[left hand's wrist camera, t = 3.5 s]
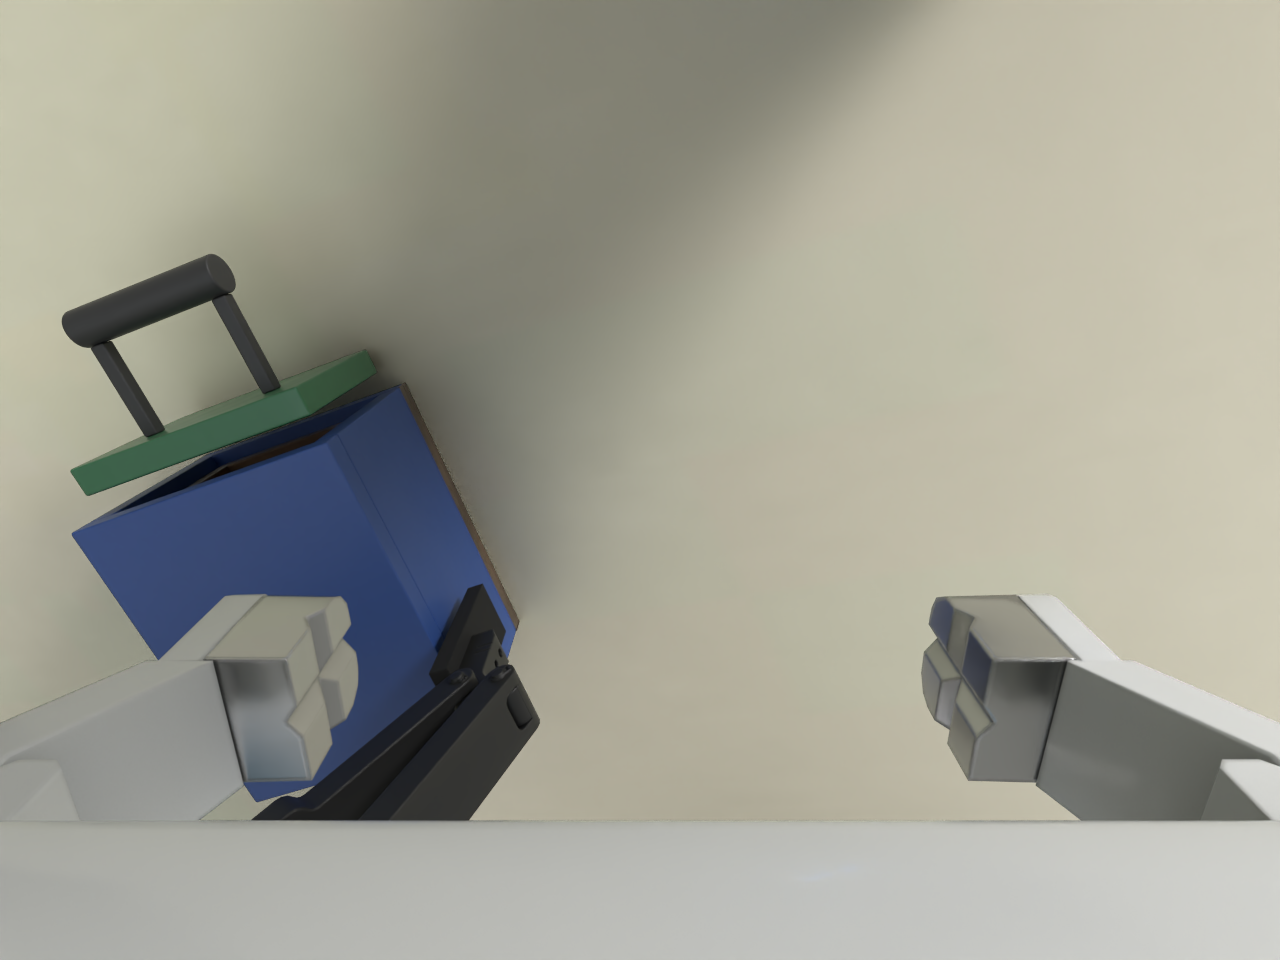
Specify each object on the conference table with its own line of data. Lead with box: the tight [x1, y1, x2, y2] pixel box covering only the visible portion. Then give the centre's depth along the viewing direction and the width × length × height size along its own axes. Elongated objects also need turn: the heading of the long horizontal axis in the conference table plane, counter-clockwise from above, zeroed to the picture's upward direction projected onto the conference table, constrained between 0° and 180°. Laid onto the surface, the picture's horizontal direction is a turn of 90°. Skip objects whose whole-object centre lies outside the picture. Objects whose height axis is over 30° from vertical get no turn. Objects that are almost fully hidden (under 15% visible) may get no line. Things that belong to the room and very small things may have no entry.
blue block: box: [72, 383, 519, 802], centre depth 35 cm, size 14×11×10 cm
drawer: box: [62, 254, 377, 496], centre depth 33 cm, size 19×10×7 cm, turn 20°
